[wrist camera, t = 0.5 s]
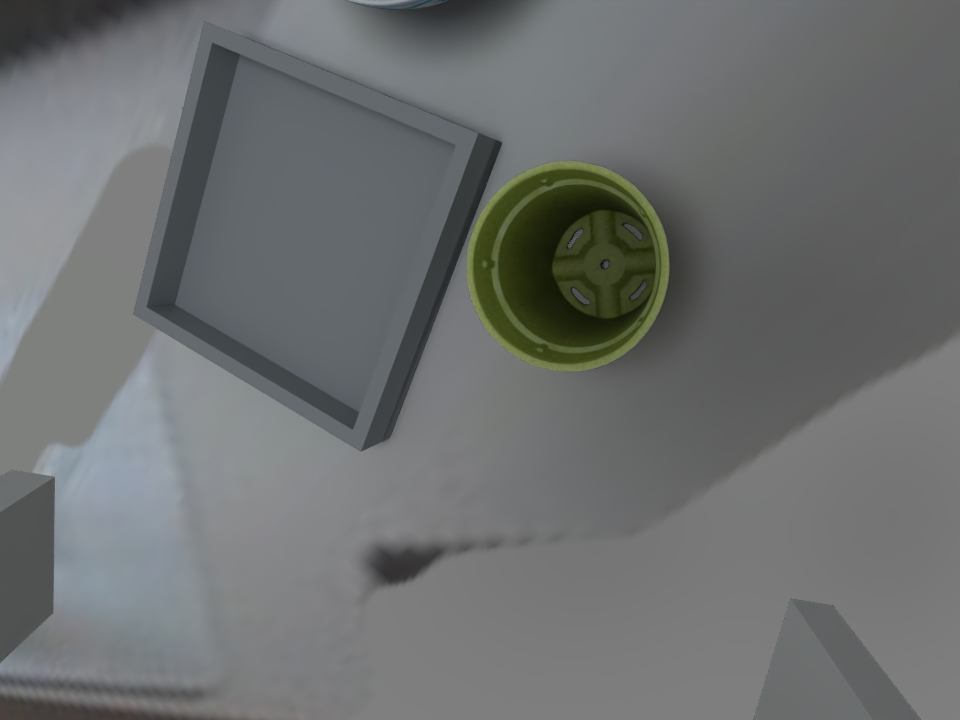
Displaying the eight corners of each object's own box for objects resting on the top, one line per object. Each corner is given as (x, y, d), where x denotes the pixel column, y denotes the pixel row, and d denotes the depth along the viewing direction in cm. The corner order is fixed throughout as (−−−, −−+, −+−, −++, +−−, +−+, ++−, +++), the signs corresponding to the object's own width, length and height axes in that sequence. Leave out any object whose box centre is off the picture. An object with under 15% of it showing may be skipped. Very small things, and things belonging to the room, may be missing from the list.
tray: (243, 36, 47) (204, 20, 43) (501, 142, 41) (478, 133, 38) (172, 310, 52) (133, 314, 49) (389, 438, 46) (360, 451, 43)
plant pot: (620, 382, 40) (580, 413, 32) (496, 281, 42) (430, 287, 34) (731, 248, 37) (717, 246, 29) (590, 145, 39) (542, 117, 31)
